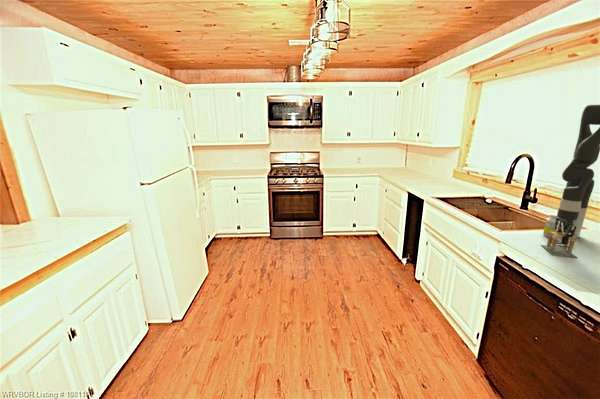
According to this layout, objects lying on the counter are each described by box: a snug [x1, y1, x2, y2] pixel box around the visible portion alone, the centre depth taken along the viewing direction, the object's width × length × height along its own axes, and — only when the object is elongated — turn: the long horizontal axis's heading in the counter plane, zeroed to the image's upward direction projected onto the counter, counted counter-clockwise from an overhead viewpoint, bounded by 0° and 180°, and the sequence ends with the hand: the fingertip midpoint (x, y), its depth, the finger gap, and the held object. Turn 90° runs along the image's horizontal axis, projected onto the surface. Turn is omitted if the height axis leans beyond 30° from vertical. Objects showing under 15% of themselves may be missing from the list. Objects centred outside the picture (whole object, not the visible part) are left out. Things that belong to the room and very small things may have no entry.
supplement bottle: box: [542, 212, 559, 238], centre depth 163 cm, size 7×7×13 cm
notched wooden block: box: [546, 232, 576, 254], centre depth 144 cm, size 5×8×8 cm
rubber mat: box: [540, 244, 578, 259], centre depth 145 cm, size 12×10×1 cm
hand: (560, 241), depth 144 cm, fingers closed on notched wooden block, 5 cm apart
